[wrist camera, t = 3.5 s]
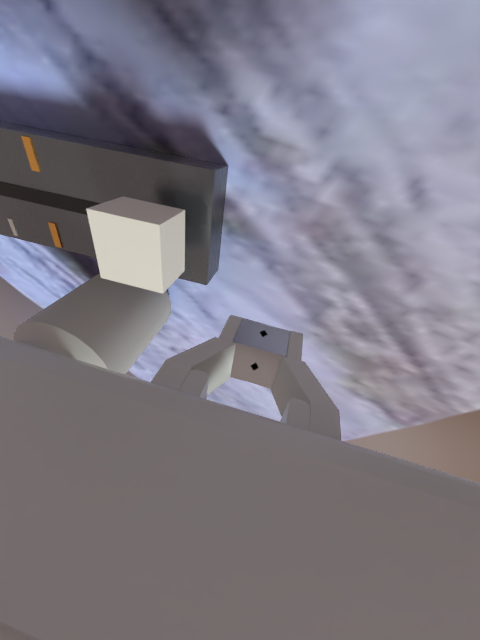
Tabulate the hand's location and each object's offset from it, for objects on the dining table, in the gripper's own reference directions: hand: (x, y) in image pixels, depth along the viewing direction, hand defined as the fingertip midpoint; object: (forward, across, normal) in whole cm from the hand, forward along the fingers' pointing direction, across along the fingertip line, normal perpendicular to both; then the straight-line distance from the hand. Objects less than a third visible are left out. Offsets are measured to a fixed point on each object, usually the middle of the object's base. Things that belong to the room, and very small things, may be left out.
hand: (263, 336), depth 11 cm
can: (+12, +13, +8) cm, 20 cm away
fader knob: (+8, +8, 0) cm, 12 cm away
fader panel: (+12, +16, 0) cm, 20 cm away
